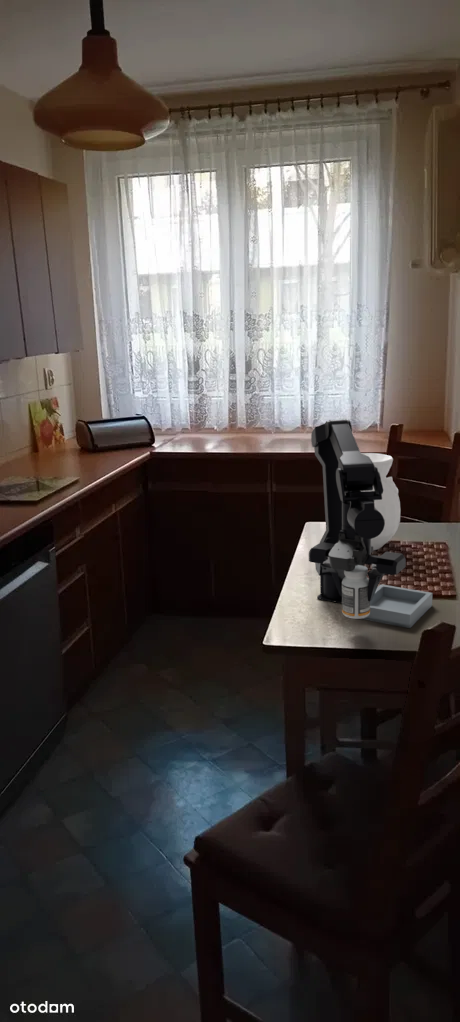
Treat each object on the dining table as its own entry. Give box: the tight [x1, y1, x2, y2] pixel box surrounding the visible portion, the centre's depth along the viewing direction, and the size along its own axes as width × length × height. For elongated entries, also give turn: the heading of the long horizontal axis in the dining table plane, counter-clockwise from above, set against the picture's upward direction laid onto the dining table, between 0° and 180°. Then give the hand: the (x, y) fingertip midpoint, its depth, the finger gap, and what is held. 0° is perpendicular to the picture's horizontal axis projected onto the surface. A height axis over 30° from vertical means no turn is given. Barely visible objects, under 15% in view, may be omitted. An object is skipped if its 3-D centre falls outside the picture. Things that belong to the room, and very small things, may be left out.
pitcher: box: [361, 452, 402, 551], centre depth 214 cm, size 19×18×25 cm
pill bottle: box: [341, 565, 370, 620], centre depth 159 cm, size 6×6×10 cm
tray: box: [360, 584, 433, 629], centre depth 170 cm, size 12×14×3 cm
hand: (356, 598), depth 159 cm, fingers closed on pill bottle, 6 cm apart
